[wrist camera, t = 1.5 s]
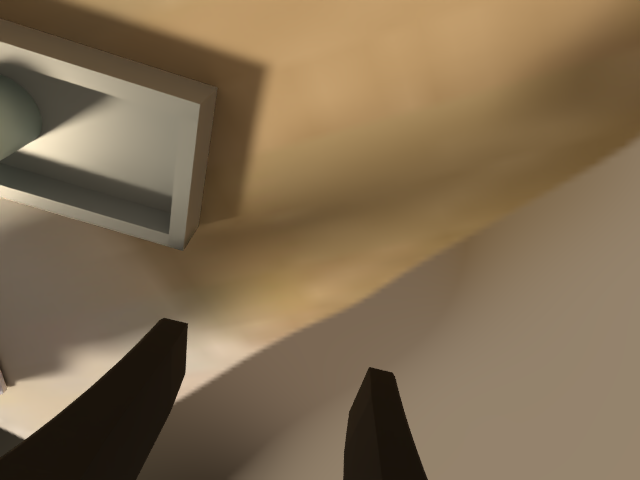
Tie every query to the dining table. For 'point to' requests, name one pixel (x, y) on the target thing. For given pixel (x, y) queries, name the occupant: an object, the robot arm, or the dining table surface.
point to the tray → (102, 137)
